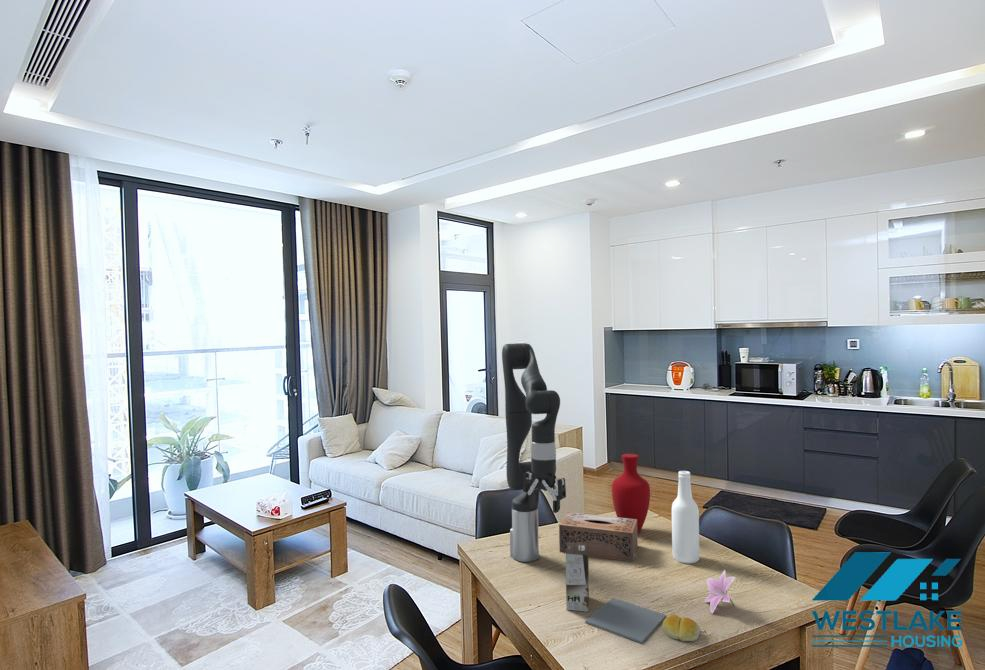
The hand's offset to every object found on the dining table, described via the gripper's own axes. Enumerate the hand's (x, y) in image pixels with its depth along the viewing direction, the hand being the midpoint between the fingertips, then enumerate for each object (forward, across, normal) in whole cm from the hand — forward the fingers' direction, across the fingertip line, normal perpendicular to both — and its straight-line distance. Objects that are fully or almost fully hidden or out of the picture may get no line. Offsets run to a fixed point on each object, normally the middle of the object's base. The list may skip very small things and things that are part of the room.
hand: (544, 509), depth 162 cm
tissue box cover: (+26, -2, +39) cm, 47 cm away
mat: (+25, +26, 0) cm, 36 cm away
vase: (+25, 0, +62) cm, 67 cm away
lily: (+25, +44, +22) cm, 56 cm away
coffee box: (+25, +12, 0) cm, 28 cm away
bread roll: (+25, +40, +3) cm, 48 cm away
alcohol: (+25, +26, +49) cm, 61 cm away
